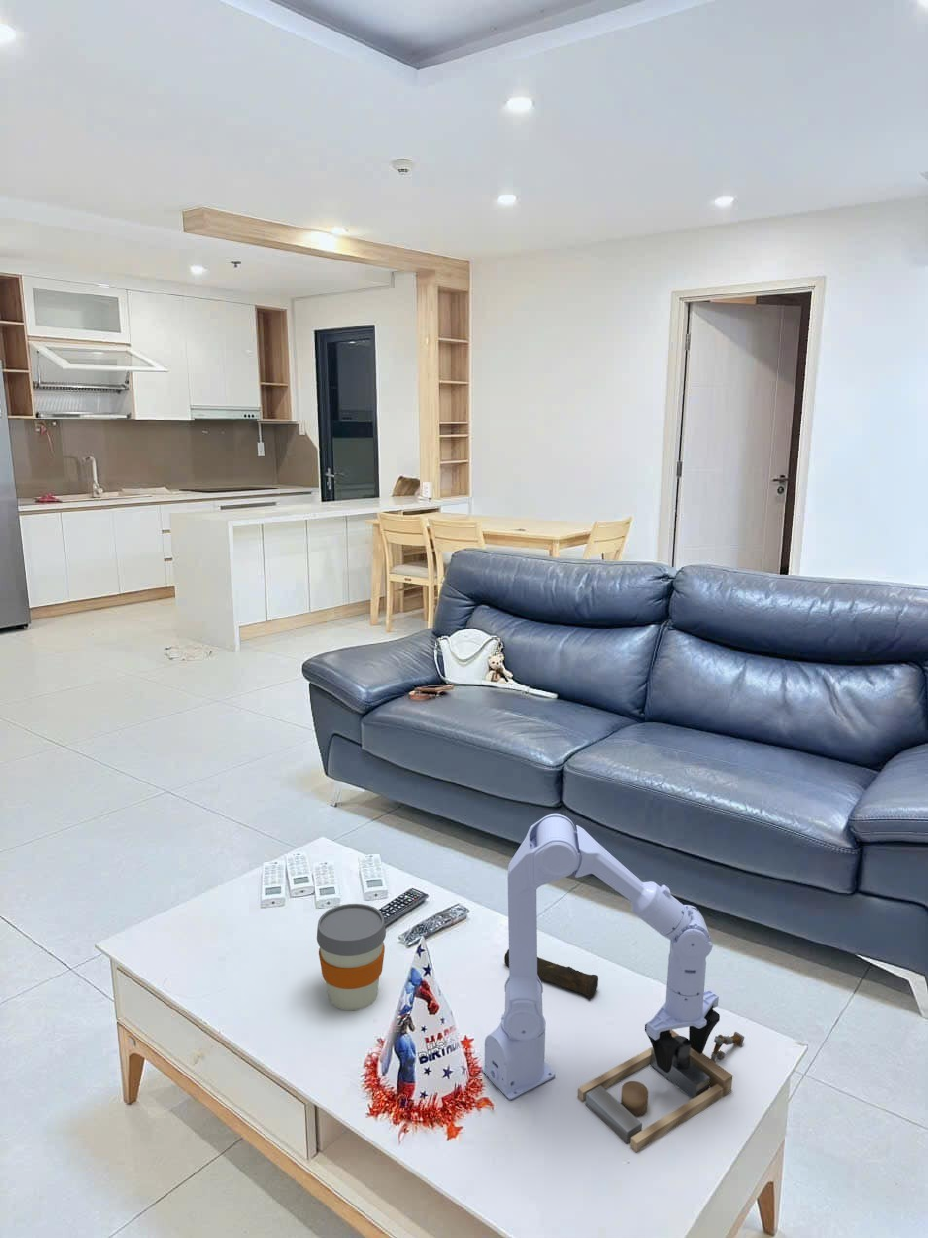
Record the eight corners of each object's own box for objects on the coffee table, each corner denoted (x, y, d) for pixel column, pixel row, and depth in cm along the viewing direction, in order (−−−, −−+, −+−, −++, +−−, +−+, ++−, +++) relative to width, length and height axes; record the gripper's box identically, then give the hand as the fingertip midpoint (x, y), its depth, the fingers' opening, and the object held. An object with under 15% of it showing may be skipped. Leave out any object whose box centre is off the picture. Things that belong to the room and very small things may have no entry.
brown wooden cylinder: (634, 1120, 131) (635, 1104, 131) (615, 1104, 135) (616, 1087, 134) (652, 1109, 133) (653, 1093, 133) (634, 1093, 137) (635, 1077, 136)
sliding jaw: (695, 1101, 135) (698, 1064, 133) (650, 1064, 142) (652, 1028, 141) (708, 1093, 136) (711, 1056, 135) (663, 1057, 144) (665, 1021, 143)
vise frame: (636, 1152, 126) (637, 1134, 125) (577, 1096, 136) (578, 1080, 135) (731, 1091, 137) (732, 1075, 136) (670, 1044, 147) (671, 1029, 147)
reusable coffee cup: (399, 983, 163) (398, 912, 160) (364, 1024, 152) (362, 948, 149) (342, 966, 168) (340, 896, 165) (305, 1004, 157) (302, 931, 154)
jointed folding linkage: (704, 1059, 143) (712, 1032, 143) (727, 1055, 148) (735, 1030, 149) (713, 1065, 142) (721, 1038, 142) (737, 1061, 147) (745, 1035, 147)
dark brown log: (599, 991, 161) (600, 969, 160) (590, 1003, 158) (591, 980, 157) (511, 958, 171) (512, 937, 170) (501, 968, 168) (501, 947, 167)
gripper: (672, 1015, 128) (667, 1093, 131) (736, 981, 136) (729, 1055, 139) (638, 990, 134) (633, 1065, 137) (701, 959, 142) (696, 1030, 145)
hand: (680, 1058), depth 139 cm, fingers open, 7 cm apart
